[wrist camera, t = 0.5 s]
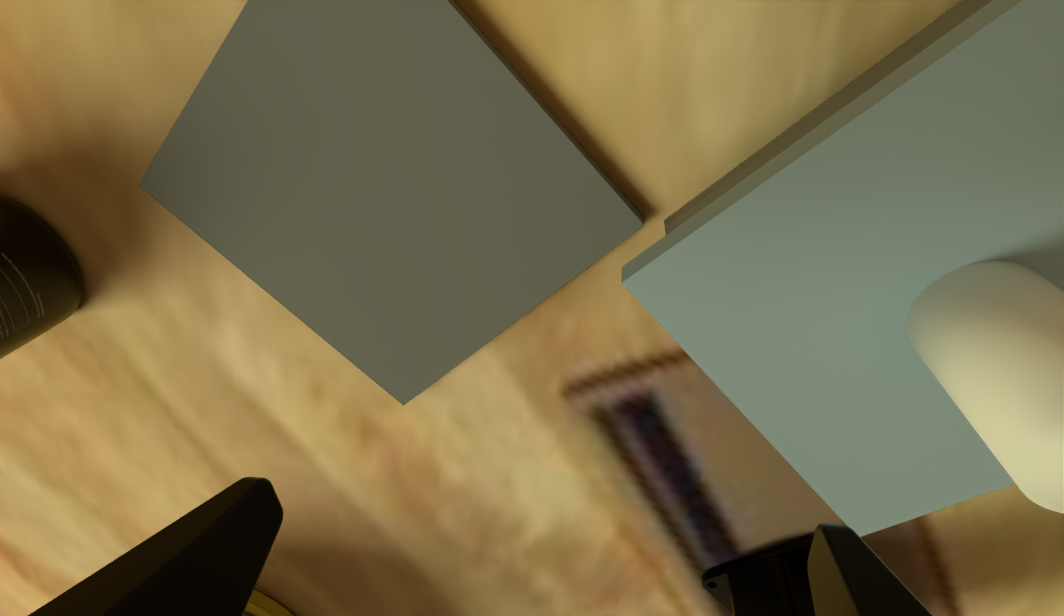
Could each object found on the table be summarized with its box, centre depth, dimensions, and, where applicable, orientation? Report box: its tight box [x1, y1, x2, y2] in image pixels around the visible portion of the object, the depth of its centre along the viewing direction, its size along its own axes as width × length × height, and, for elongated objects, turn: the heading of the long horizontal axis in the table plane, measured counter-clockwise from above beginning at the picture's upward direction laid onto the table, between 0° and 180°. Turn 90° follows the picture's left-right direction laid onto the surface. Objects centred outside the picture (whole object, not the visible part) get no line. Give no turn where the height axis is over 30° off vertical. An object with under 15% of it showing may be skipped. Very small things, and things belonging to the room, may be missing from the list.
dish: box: [664, 0, 992, 235], centre depth 17 cm, size 11×11×4 cm
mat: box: [138, 0, 644, 405], centre depth 20 cm, size 14×14×1 cm
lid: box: [621, 0, 1064, 537], centre depth 13 cm, size 13×13×6 cm
